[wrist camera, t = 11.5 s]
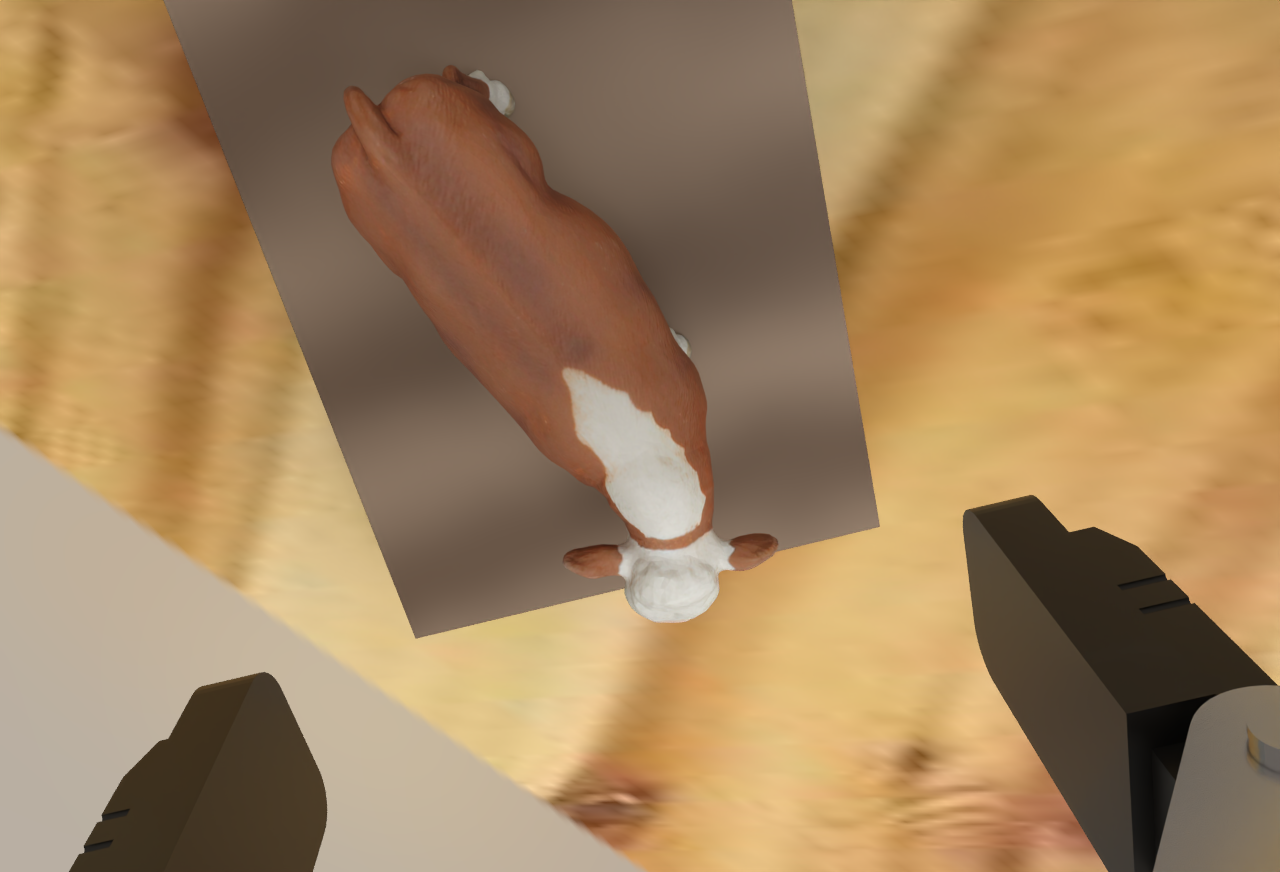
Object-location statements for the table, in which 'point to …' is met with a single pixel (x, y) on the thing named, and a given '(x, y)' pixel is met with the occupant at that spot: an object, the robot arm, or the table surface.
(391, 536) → the walnut block
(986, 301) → the table surface
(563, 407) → the bull figurine
